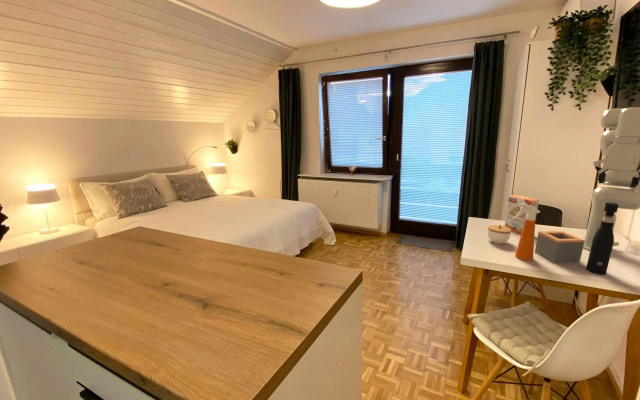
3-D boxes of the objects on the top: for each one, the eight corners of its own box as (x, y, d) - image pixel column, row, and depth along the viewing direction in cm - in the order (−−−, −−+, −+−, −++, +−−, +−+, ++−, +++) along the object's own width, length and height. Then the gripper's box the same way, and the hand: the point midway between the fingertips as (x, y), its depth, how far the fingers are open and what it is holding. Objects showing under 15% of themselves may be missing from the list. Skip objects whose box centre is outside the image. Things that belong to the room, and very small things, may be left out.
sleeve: (558, 252, 147) (563, 231, 144) (579, 263, 135) (584, 240, 132) (534, 252, 147) (538, 231, 144) (553, 263, 135) (558, 240, 132)
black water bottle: (596, 267, 130) (611, 201, 123) (610, 274, 124) (628, 205, 117) (581, 268, 130) (596, 201, 123) (595, 275, 124) (612, 205, 117)
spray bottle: (504, 253, 146) (512, 201, 139) (528, 255, 143) (538, 202, 137) (509, 259, 139) (518, 204, 133) (535, 261, 137) (546, 206, 130)
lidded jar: (508, 240, 162) (511, 223, 160) (510, 247, 153) (513, 229, 151) (486, 237, 167) (488, 221, 165) (486, 243, 158) (488, 226, 155)
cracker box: (503, 228, 180) (508, 195, 175) (511, 227, 182) (516, 194, 177) (525, 236, 167) (531, 200, 162) (533, 235, 169) (539, 199, 164)
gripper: (663, 142, 108) (651, 188, 112) (603, 140, 123) (594, 181, 127) (655, 142, 105) (642, 190, 109) (594, 140, 120) (585, 182, 124)
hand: (616, 185), depth 118 cm, fingers open, 9 cm apart
